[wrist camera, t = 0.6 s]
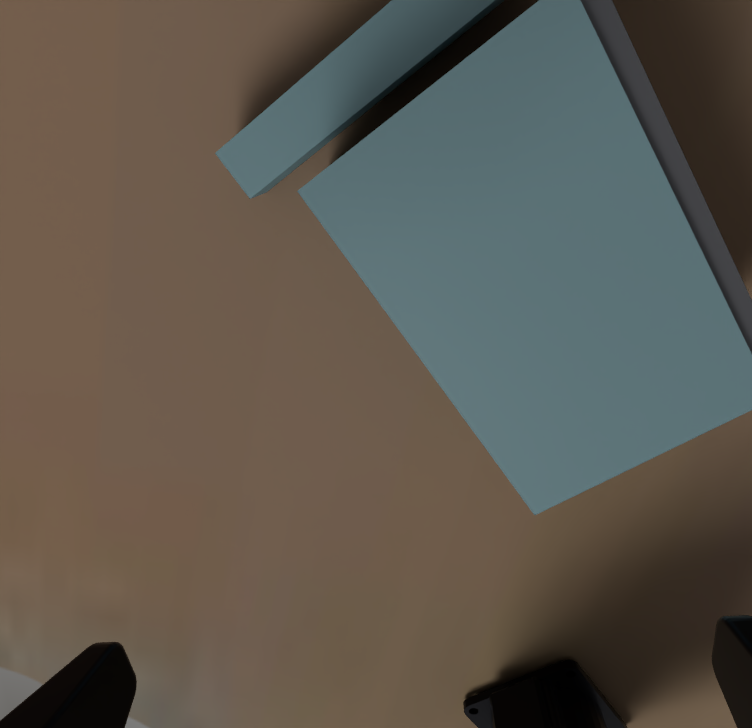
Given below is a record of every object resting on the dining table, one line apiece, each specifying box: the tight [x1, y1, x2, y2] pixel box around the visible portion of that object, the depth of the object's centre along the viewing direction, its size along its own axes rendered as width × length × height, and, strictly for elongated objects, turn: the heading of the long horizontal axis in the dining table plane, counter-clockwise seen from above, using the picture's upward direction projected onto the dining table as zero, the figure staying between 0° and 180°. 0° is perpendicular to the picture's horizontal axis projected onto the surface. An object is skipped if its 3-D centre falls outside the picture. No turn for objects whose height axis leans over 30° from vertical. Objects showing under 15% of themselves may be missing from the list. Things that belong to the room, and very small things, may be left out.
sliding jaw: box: [298, 0, 752, 515], centre depth 16 cm, size 12×8×5 cm, turn 36°
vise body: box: [215, 0, 504, 199], centre depth 14 cm, size 14×24×5 cm, turn 126°
